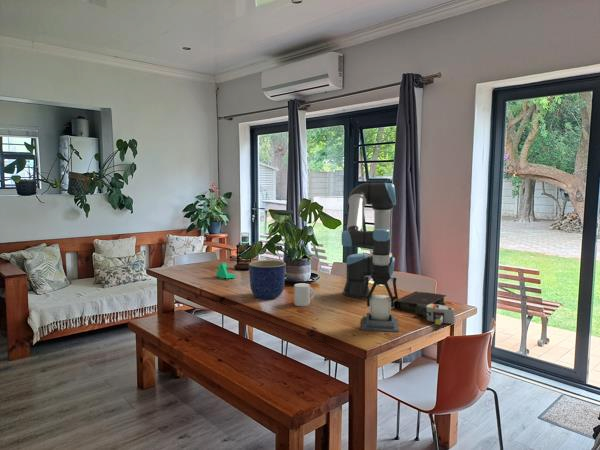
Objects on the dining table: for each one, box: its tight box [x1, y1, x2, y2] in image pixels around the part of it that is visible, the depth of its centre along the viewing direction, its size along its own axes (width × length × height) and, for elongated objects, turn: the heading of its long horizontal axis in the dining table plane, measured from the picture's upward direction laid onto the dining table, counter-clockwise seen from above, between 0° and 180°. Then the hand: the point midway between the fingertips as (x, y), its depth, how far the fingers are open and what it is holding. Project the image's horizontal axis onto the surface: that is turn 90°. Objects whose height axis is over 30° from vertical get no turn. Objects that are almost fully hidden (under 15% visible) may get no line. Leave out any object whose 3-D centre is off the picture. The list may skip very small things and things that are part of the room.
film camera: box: [415, 304, 456, 325], centre depth 202 cm, size 7×19×15 cm
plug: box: [370, 294, 391, 321], centre depth 196 cm, size 8×8×10 cm
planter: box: [248, 259, 287, 300], centre depth 245 cm, size 21×21×19 cm
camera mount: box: [216, 262, 236, 280], centre depth 295 cm, size 12×8×10 cm, turn 44°
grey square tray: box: [360, 312, 400, 333], centre depth 197 cm, size 16×16×4 cm
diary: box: [393, 290, 447, 314], centre depth 226 cm, size 19×25×5 cm
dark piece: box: [233, 242, 252, 271], centre depth 325 cm, size 15×15×20 cm
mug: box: [293, 282, 316, 307], centre depth 232 cm, size 8×10×12 cm
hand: (380, 313), depth 197 cm, fingers closed on plug, 8 cm apart
